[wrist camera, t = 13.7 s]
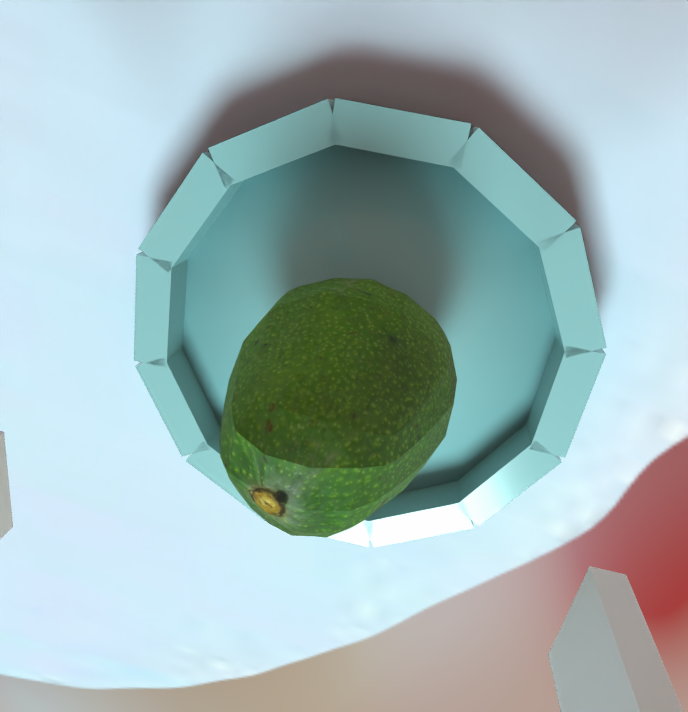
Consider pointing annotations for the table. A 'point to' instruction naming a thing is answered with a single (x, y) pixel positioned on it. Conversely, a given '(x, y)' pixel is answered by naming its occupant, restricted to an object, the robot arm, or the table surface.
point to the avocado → (335, 404)
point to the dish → (391, 268)
